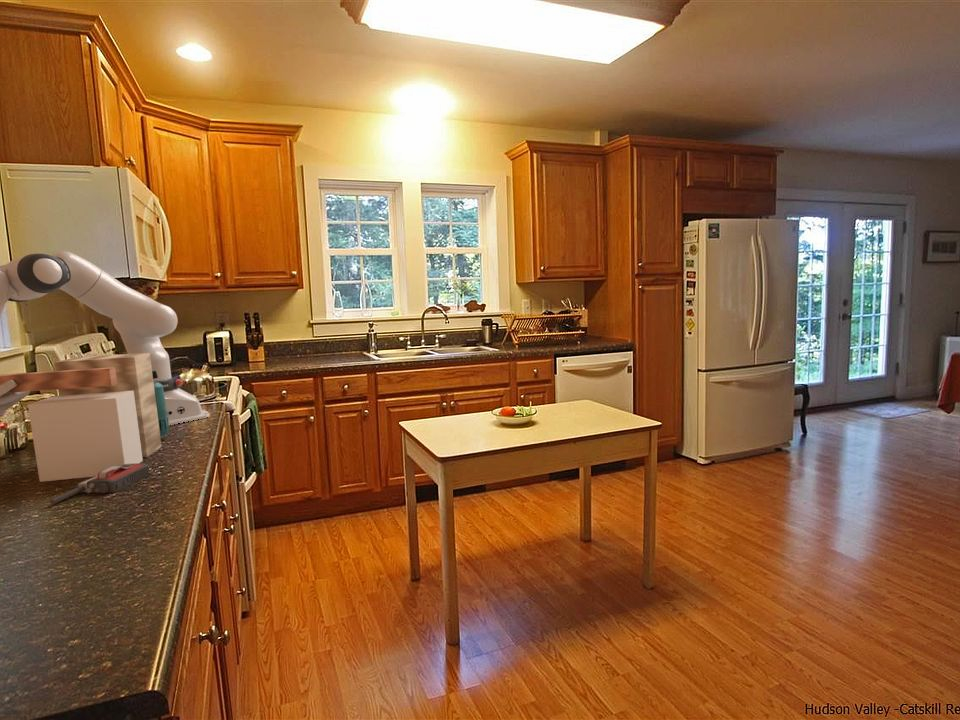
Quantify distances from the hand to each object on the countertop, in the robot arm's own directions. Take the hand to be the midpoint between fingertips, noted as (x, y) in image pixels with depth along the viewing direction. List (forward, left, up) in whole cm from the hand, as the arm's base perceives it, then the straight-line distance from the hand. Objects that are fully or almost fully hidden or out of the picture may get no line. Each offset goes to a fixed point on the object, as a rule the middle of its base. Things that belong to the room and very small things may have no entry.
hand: (21, 380), depth 130 cm
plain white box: (-11, +6, -23) cm, 26 cm away
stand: (-17, -5, -23) cm, 29 cm away
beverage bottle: (-28, -15, -23) cm, 39 cm away
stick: (-6, +4, -2) cm, 8 cm away
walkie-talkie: (-11, +24, -24) cm, 35 cm away
